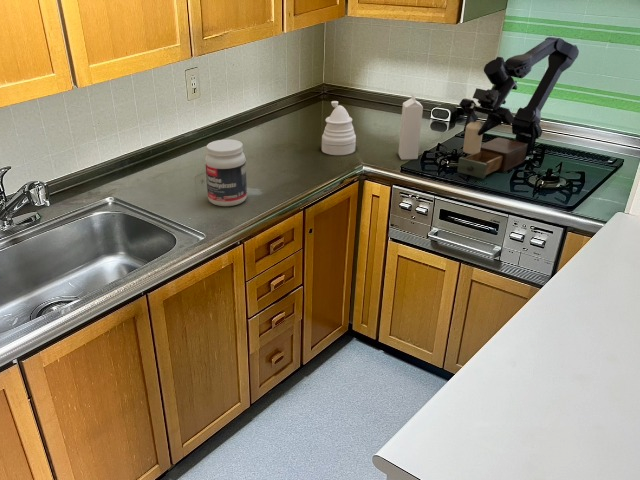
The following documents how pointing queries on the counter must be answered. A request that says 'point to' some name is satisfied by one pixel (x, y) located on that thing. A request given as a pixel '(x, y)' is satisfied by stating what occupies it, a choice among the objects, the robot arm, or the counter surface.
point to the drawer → (480, 163)
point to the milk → (410, 129)
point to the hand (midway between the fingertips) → (471, 133)
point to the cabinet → (507, 151)
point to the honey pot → (338, 132)
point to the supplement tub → (226, 172)
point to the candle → (472, 138)
